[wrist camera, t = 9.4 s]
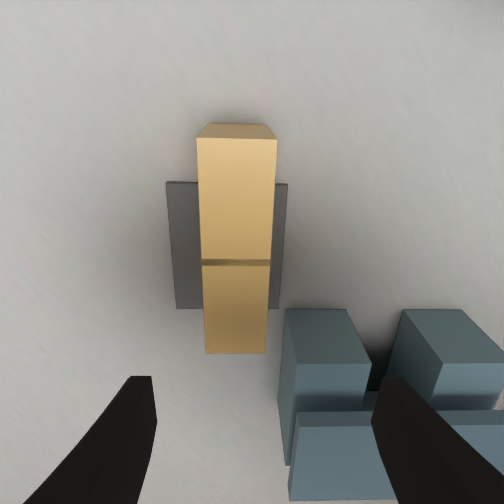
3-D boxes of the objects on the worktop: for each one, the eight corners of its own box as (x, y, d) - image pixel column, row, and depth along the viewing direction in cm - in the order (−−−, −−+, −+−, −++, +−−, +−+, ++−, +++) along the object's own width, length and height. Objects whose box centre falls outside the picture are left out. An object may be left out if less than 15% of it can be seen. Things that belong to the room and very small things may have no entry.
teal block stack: (461, 309, 21) (546, 394, 15) (428, 400, 24) (486, 497, 19) (285, 309, 20) (303, 396, 15) (277, 401, 24) (289, 501, 18)
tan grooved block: (267, 124, 15) (278, 139, 11) (259, 291, 19) (266, 353, 15) (208, 123, 15) (194, 137, 11) (212, 291, 19) (204, 353, 15)
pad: (286, 184, 17) (287, 185, 17) (277, 305, 20) (278, 309, 20) (167, 181, 17) (165, 183, 16) (177, 304, 20) (176, 308, 20)
